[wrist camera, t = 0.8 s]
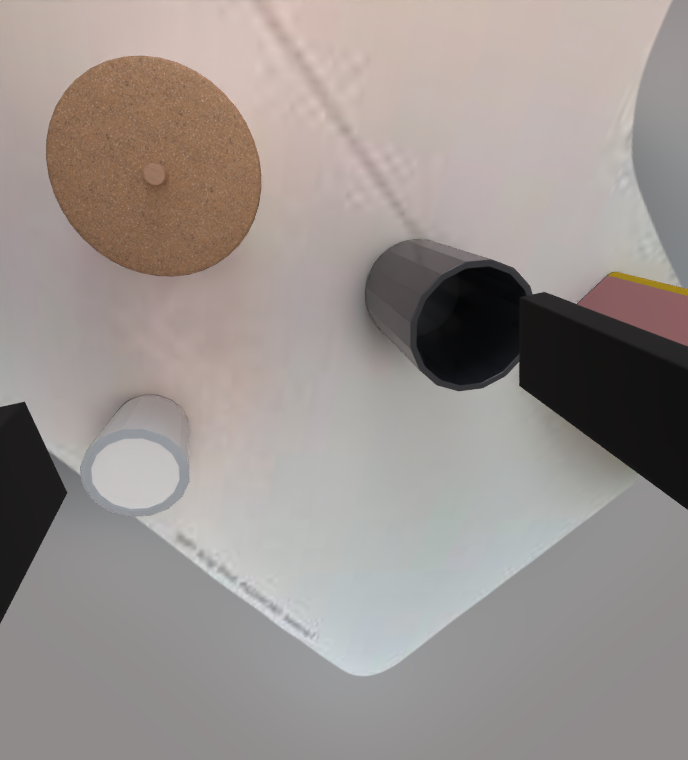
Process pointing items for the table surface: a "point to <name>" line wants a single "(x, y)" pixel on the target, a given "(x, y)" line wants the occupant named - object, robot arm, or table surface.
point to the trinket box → (153, 166)
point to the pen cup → (448, 311)
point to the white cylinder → (139, 458)
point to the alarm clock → (642, 304)
